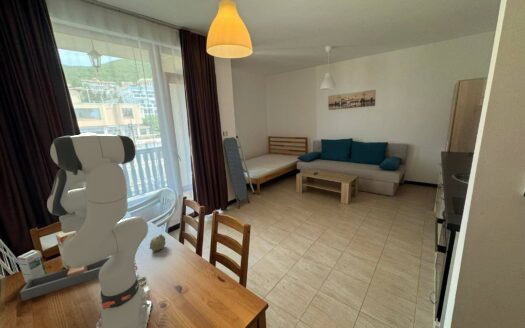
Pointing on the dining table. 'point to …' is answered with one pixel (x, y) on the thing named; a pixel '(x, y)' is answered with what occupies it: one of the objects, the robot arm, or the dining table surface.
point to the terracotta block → (76, 270)
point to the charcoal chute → (59, 280)
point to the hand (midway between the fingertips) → (92, 235)
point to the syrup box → (32, 265)
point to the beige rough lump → (157, 243)
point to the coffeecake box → (64, 242)
